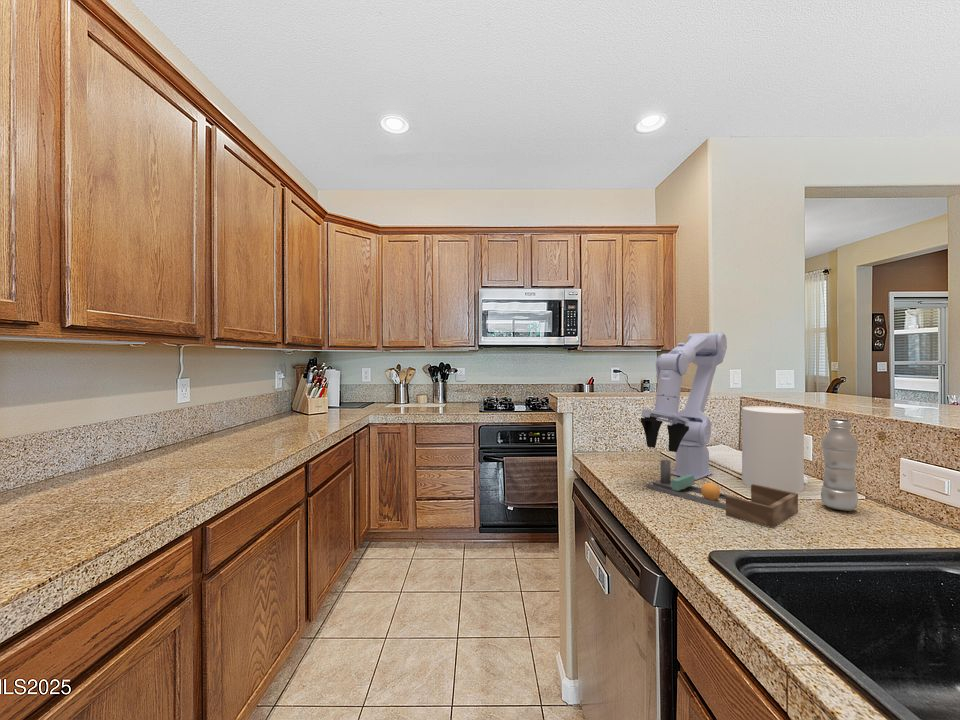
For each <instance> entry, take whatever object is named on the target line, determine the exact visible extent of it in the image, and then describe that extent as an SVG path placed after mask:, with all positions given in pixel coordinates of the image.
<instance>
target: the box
mask: <svg viewBox="0 0 960 720" xmlns="http://www.w3.org/2000/svg"><path fill="white" fill-rule="evenodd" d="M732 496H733V495H731V496H726V499H725V504H726V509H725V515H726V516H729V517H732V518H737V519H740V520H743V521H747V522H751V523H754V524H757V525H760V524H761V525H760V526H764V525H765V527H767V526H769V527H768V528H771V527H773V528H775V527H776V526H778V525H780V524H781V523H783V522H785V521H786V520H788V519H790V518H791V517H793V516H794V515H796V514H797V513H798V512H799V493H792V492H787V491H783V490H778V489H774V488H769V487H764V486H760V485H755V484H752V485H751V487H750V500H748V499H743V498H742V499H740V498H741V497H739V498H736V497H737V496H735V497H732Z"/></svg>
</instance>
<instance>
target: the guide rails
mask: <svg viewBox="0 0 960 720" xmlns="http://www.w3.org/2000/svg"><path fill="white" fill-rule="evenodd" d="M646 488H648V489H650V490H653V491H658V492H662V493H665V494H668V495H669V494H670V495H671V496H676V497H680V498H684V499H687V500H691V501H694V502H697V503H700V504H705V505H709V506H712V507H716V508H719V509H724V510H726V502H721V501H716V500H710V499H706V498H705V497H702V496H699V495H695V494H690V493H687V492H684V491H683V492H682V491H681V490H679V491H676V490H672V489H668V488H665V487H661V486H657V485H653V483H647V484H646ZM701 488H702V487H698V486H694V485H692V486H689V487H686V488H684V489H683V490H687V491H691V492H694V493H700V494H702V492H701ZM726 496H732V497H736V498H740V499H743V497H738V496H734V495H730V494H727V493H723V492H720V496H719V497H718V498H717V499H722V500H726Z"/></svg>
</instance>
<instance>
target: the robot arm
mask: <svg viewBox="0 0 960 720" xmlns="http://www.w3.org/2000/svg"><path fill="white" fill-rule="evenodd" d="M727 344H728V343H727V336H726V334H725V333H724V332H722V331H720V332H703V333H693V332H692V333H689V334H688V335H687V338H686V343H685V342H679V343H677V346H675V347H674V348H672V349H671V350H670V351H669V352H667V353H662V354H660V355H658V356H657V358H656V361H655V369H656V370H655V371H656V380H657V386H656V387H657V388H656V394H655V395H656V396H655V404H654V410H651V409H643V408H642V409H641V418H640V422H641V425H642V427H643V430H644V434H645V441H646V447H647V448H653V449H655V448H656V446H657V441H658V436H659V435H658V434H659V431H660V428H661V426H662V424H663V422H665V423H669V425H668V424H667V425H666V427H667V431H668V447H667V448H668V451H669V452H672V453H673V452H674V453H675V470H672V471H671V470H670V473H671V475H673V476H676V477H677V476H678V477H681V476H684V475H687V474H691V475H694V481H697V480H700V479H702V478H705V477H708V476H711V475H713V471H710V451H709V448H708V447H707V446H706V445H707V444H708V443H709V442H710V440H711V434H712V431H711V429H712V422H711V420H710V417H708V415H706V414H705V409H706V406H707V405H706V404H707V402H708V398H709V395H710V392H711V386H712V384H713V381H714V376H715V374H716V369H717V367H718V366H719V365H721V364H722V363H723V362H724V359H725V355H726V353H727V349H728V348H727V347H728V346H727ZM690 363H692V364H694V365H696V366H697V367H696V371H695V373H694V378H693V381H692V384H691V386H690V387H691V388H690V391H689V394H688V398H687V401H686V405H685V408H683V409H682V410H679V408H680V399H681V398H680V397H681V390H682V381H683V380H682V379H683V376H684V375H686V374H687V372H688V368H689V365H690ZM710 474H711V475H710ZM707 475H708V476H707Z"/></svg>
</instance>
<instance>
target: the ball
mask: <svg viewBox="0 0 960 720" xmlns="http://www.w3.org/2000/svg"><path fill="white" fill-rule="evenodd" d="M700 488H701V492H702V493H701V495H702V496H703V498H706V499H710V500H714V501H716V500H718V499H719V498H718V497H719V496H720V493H721V490H720V488H719V486H718V485H717V484H715V483H714V482H713V483H712V482H707V483H706V482H705V483H704V484H703V485H702V486H701V487H700Z"/></svg>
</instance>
